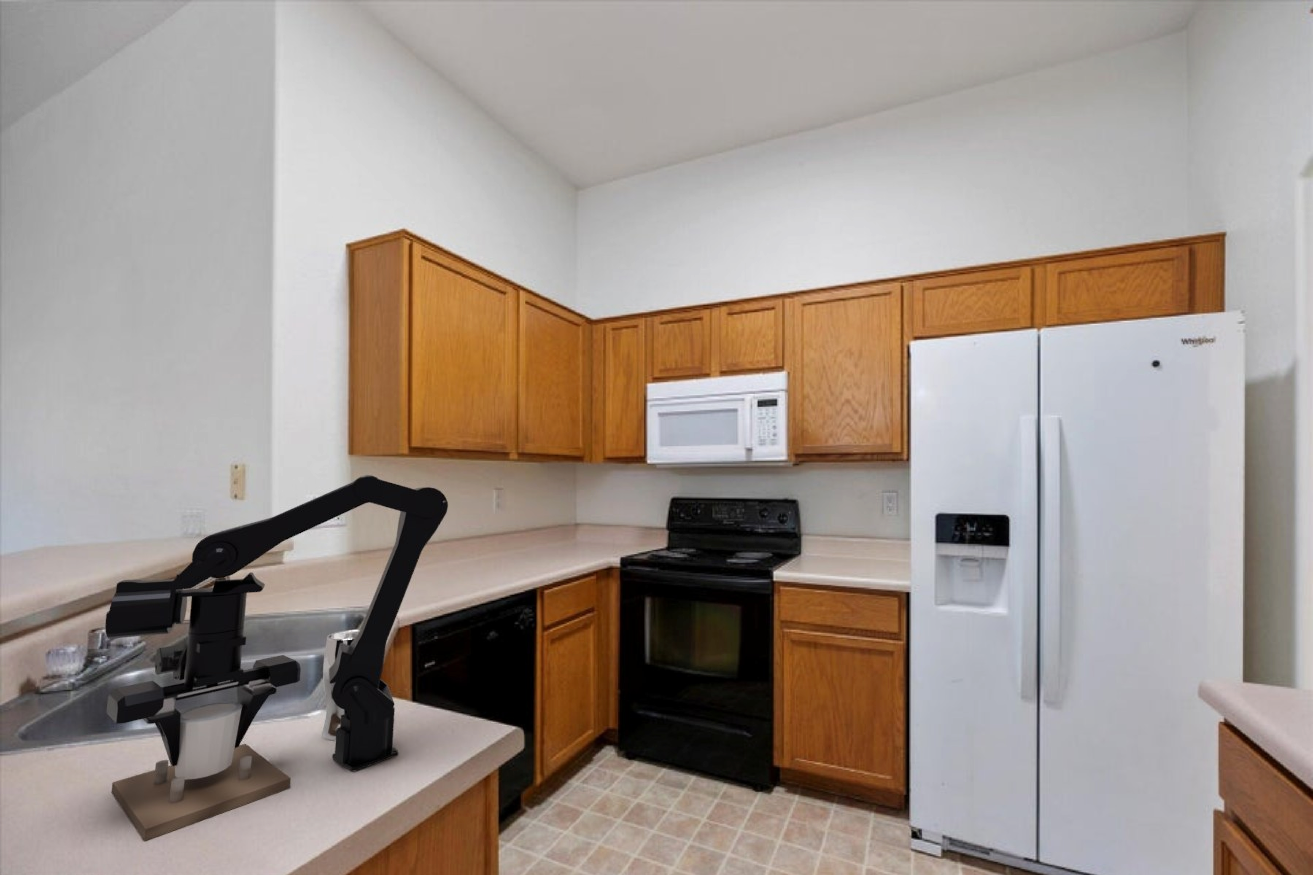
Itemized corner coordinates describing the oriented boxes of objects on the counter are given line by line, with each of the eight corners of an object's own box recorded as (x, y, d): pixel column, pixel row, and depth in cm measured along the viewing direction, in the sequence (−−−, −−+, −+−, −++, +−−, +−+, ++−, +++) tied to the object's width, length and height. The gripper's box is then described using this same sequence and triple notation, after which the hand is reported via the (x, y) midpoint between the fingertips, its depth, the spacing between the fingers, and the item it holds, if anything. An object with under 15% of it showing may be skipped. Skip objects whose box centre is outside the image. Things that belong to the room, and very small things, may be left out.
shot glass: (249, 762, 73) (254, 705, 73) (188, 786, 66) (193, 724, 67) (218, 751, 75) (223, 697, 76) (156, 774, 69) (162, 715, 70)
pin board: (244, 752, 81) (246, 726, 81) (289, 787, 71) (292, 758, 72) (111, 792, 70) (114, 761, 70) (144, 840, 60) (148, 805, 61)
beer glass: (323, 746, 83) (331, 642, 85) (313, 730, 88) (321, 633, 90) (374, 733, 88) (380, 635, 89) (362, 719, 93) (368, 626, 94)
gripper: (274, 609, 85) (266, 717, 83) (104, 633, 70) (89, 764, 68) (305, 619, 78) (297, 736, 77) (125, 648, 63) (110, 794, 62)
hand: (205, 755), depth 71 cm, fingers closed on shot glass, 6 cm apart
